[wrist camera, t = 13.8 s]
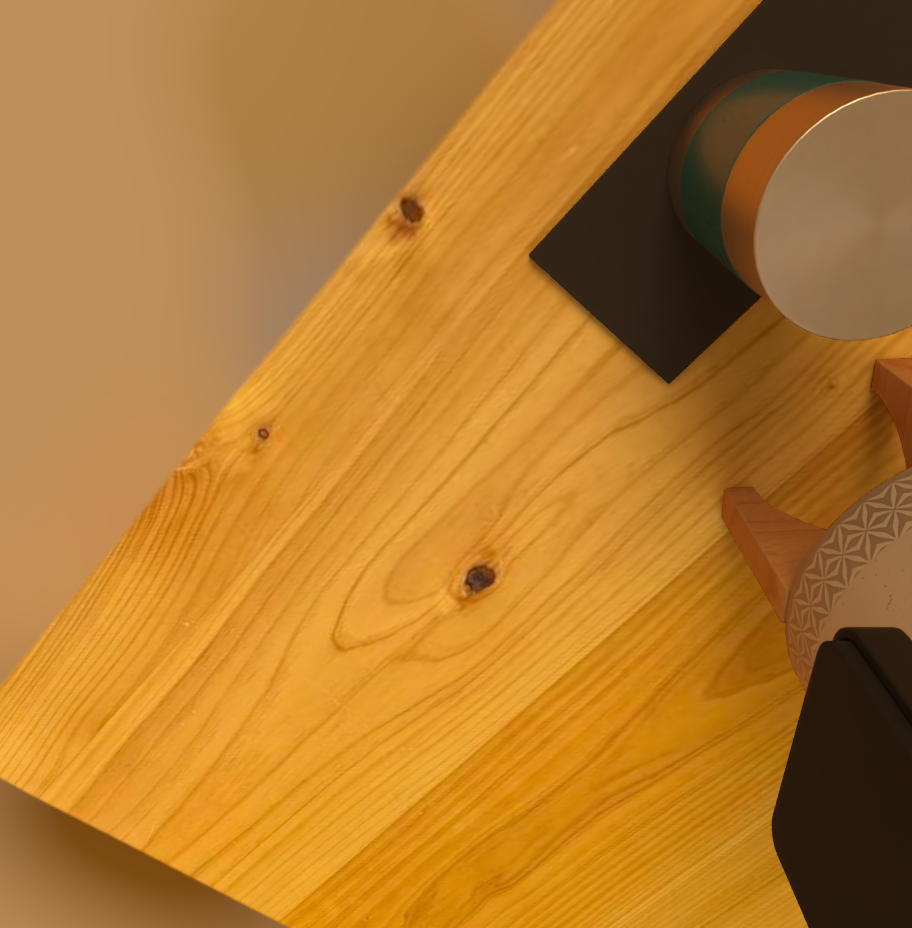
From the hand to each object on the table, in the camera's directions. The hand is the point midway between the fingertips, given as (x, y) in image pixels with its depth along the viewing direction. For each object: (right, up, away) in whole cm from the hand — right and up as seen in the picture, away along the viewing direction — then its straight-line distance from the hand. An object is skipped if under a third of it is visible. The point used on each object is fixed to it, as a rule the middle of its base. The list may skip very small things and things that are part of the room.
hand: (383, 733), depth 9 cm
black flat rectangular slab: (+12, +14, +23) cm, 29 cm away
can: (+12, +14, +23) cm, 29 cm away
